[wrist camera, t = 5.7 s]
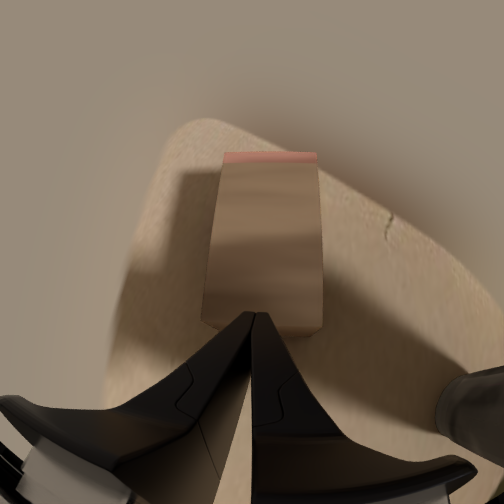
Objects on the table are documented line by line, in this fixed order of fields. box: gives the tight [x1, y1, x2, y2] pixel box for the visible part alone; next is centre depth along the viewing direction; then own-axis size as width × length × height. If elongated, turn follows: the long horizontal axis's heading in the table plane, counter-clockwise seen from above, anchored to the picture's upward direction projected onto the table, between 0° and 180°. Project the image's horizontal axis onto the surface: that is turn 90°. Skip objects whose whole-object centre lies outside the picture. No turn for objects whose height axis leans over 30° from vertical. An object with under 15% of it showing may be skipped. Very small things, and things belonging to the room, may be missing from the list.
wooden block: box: [201, 152, 323, 337], centre depth 15 cm, size 5×5×9 cm
